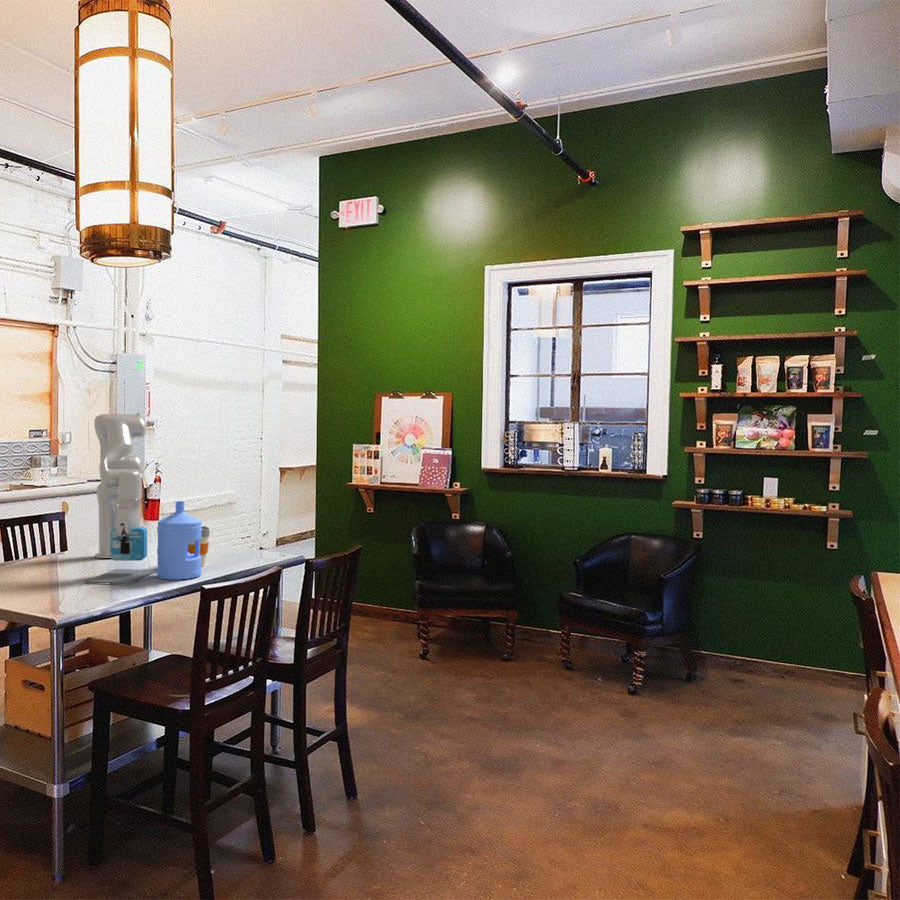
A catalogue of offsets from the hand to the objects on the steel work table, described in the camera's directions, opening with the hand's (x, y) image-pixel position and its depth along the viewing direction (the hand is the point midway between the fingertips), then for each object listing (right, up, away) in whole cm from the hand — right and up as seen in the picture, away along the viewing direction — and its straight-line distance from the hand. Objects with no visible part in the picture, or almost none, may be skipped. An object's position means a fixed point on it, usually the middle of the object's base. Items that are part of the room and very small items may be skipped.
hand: (128, 551), depth 285 cm
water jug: (+19, -9, 0) cm, 21 cm away
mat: (-1, -9, -5) cm, 10 cm away
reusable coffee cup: (+17, -8, +20) cm, 28 cm away
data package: (0, -3, 0) cm, 3 cm away
